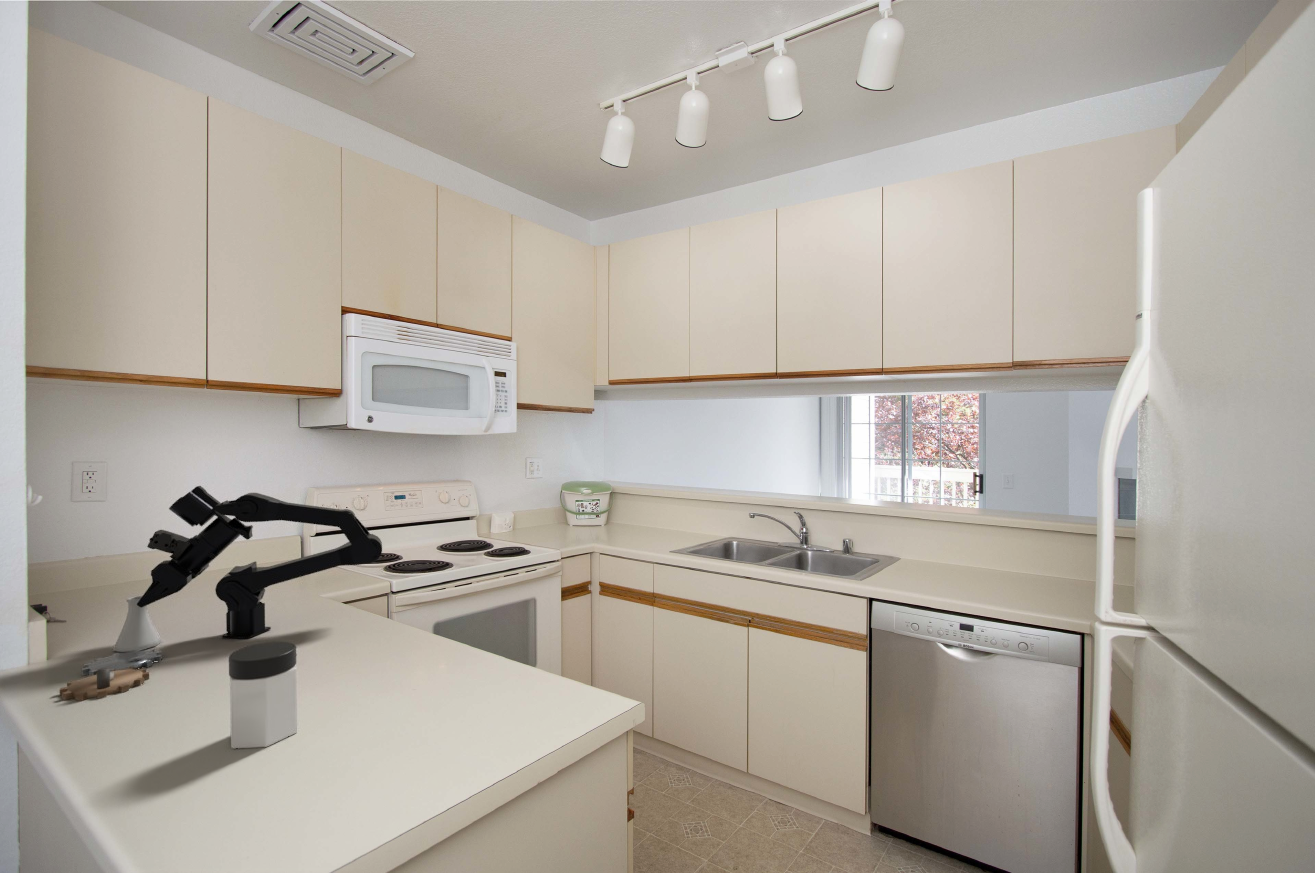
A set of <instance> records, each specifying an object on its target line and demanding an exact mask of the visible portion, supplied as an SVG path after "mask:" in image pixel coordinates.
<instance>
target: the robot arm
mask: <svg viewBox="0 0 1315 873" xmlns="http://www.w3.org/2000/svg"><path fill="white" fill-rule="evenodd" d="M168 510H169V511H170V512H172V513H173V514H175V515H177V516H178V517H179V518H180V519H181V520H182V521H184V522H186V523H187V524H188V525H189V526H191V527H195V526H196V527H197V526H199V527H200V528H201V527H203V526H204V525H206V524H207V523H208V522H209V521H211V520H212V519H213V518H214V517H216V518H215V519H214V520H212V521H211V522H210V523H209V524H208V525H207V526H206V527H205V528H204V529H203V530H201V531H200V532H199V533H198V534H196V535H194V536H193V537H190V538H189V537H186V536H184V535H181V534H178V533H175V532H171V531H169V530H164V529H158V530H157V531H155V532H154V533H153V535H152V536H151V537H150V538H149V542H148V543H147V546H146V547H147V548H148V549H151V550H157V551H161V552H165V553H168V554H170V556H169V558H170V560H169V559H168V560H163V561H162V562H160V563H159V564H157V565H156V566H155V567H154V568H153V569H152V570H151V571H150V576H151V579H152V580H151V581H152V582H151V584H150V585H149V586H148V588H147V589H146V590H145V592H144V593H143V595H141V596H142V597H141V599H140V600H139V602H138V603H137V605H138V606H139V607H141V608H142V607H144V606H146V605H147V606H149V605H151V604H153V603H156V602H157V601H160V600H162V599H164V598H167V597H169V596H171V595H173V594H176V593H179V592H180V591H181V590H183V589H184V588H185V587H186V586H188V584H189V583H191V582H192V580H194V579H196V578H197V577H198V576H200V575H201V574H202V573H203V572H205V571H206V570H207V569H208V568H209V567H210V563H212V562H213V560H215V559H216V558H217V557H218V556H220V555H221V554H222V553H223V552H224V551H225V550H226V549H227V548H228V547H229V546H230V545H232V543H233V542H235V541H236V540H237V539H238V538H239V537H240V536H241V537H242V538H244V539H245V540H250V539H251V538H252V537H253V528H254V525H252V524H251V525H245V524H244V523H260V522H261V523H262V522H272V521H273V522H274V521H284V522H285V521H286V522H295V523H299V524H300V523H302V524H310V525H318V526H328V527H336V528H339V529H340V530H341V532H342V533H343V534H344V536H345V538H346V539H347V540H348V542H346V543H344V544H342V545H340V546H338V547H335V548H332V549H329V550H325V551H321V552H318V553H313V554H309V555H307V556H302V557H300V558H299V557H298V558H295V559H292V560H287V561H284V562H281V563H276V564H274V565H269V566H258V565H257V561H253V562H250V563H248V564H245V565H241V566H239V565H235V566H234V567H233V568H232V569H231V570H230V571H229V572H227V573H226V574H225V575H224V576H223V577H222V578H221V579H220V580H219V581H218V582H217V584H216V585H215V590H214V591H215V595H216V597H217V598H218V599H219V600H220V601H222V602H224V603H225V605H226V607H227V610H226V611H227V612H226V614H225V618H226V628H225V629H226V632H225V633H223V634H221V638H223V639H225V638H227V639H229V638H231V639H251V638H252V637H255V636H258V635H260V634H263V633H265V632H267V631H270V630H272V626H266V603H265V602H263V601H261V600H262V599H263V598H264V596H265V593H266V588H268V587H270V586H273V585H277V584H279V583H284V582H288V581H292V580H294V579H298V578H302V577H304V576H309V575H311V574H315V573H320V572H323V571H326V570H330V569H333V568H337V567H341V566H358V565H366V564H367V565H368V564H372V563H374V562H377V561H378V560H379V558H380V557H381V555H382V553H383V542H382V540H381V538H380V537H378V536H377V535H376V534H373V533H370V531H369V530H368V529H367V528H366V527H365V525H364V524H363V523H362V522H361V521H360V520H359V519H358V518H357V516H356V515H355V513H354V511H353V510H351V509H349V508H343V509H340V508H333V507H324V506H317V505H316V506H315V505H309V504H300V503H293V502H287V501H284V500H280V499H277V498H275V497H272V496H269V495H265V494H261V493H258V492H248V493H245V494H243V495H241V496H240V497H238V498H236V499H235V500H234V499H232V500H225V501H222V502H221V501H219V500H217V499H216V498H215V497H214V496H213V495H211V494H210V493H209V492H208V491H207V490H206V489H205V488H204V487H202V486H201V485H196V486H194V488H193V489H191V490H190V491H188V492H187V493H186V494H185V495H183V496H181V497H179V498H178V499H177V500H175V502H173V503H172V504H171V505H170V506H169V508H168ZM228 516H229V517H228ZM230 517H233V518H232V519H231V518H230Z"/></svg>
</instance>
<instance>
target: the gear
mask: <svg viewBox="0 0 1315 873" xmlns="http://www.w3.org/2000/svg"><path fill="white" fill-rule="evenodd" d="M161 659H163V651H161V650H158V651H156V650H155V649H153V648H148V649H147V650H146V649H145V650H140V651H139V650H133V651H130V652H116V653H112V655H108V656H106V657H98V658H97V657H96V658H95V659H93V661H92V662H87V663H85V664H83V665H82V666H83V667H82V668H81V675H82V676H87V675H88V677H89V676H93V675H97V670H98V669H101V668H106V667H109V668H110V671H111V670H114V671H117V670H124V669H126V668H133V669H134V670H136V669H137V670H139V669H138V668H141V669H142V667H148V668H150V667H149V666H151V665H152V666H153V663H152V662H154V661H160V660H161ZM161 661H162V660H161ZM161 661H160V662H161ZM152 666H151V667H152Z"/></svg>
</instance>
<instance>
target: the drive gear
mask: <svg viewBox="0 0 1315 873" xmlns="http://www.w3.org/2000/svg"><path fill="white" fill-rule="evenodd" d="M144 679H147V680H150V671H147V668H141V669H137V670H134V669H133V668H126V669H124V670H117V671H114V670H111V671H110V668H109V667H106V668H101V669H98V670H97V675H93V676H89V675H88V676H87V677H84V678H81V679H79V680H71V681H68V682H67V684H66V686H63V687H60V688H59V696H60V697H61V699H62V700H64V701H67V700H69V699H75V702H79V701H80V702H81V701H83V702H84V701H85V700H86V699H91V698H92V699H93V698H97V699H102V698H106V697H107V696H110V695H114V694H116V693H121V694H122V693H126V692H129V691H130V689H131V688H134V687H136V686H135V685H141V684H142V683H144V684H145V680H144ZM142 685H143V684H142ZM142 685H141V686H142ZM133 686H134V687H133Z"/></svg>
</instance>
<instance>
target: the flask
mask: <svg viewBox="0 0 1315 873" xmlns="http://www.w3.org/2000/svg"><path fill="white" fill-rule="evenodd" d="M142 596H143V595H138V596H137V595H136V596H131V597H128V598H126V600H125V601H126V603H128V606H127V607H128V608H127V609H128V610H127V613H126V619H125V621H124V624H123V626H122V628H121V631H120V634H119V635H118V637H117V640H116V641H115V642H116V643H115V644H114V646H113V648H112V651H114V652H117V653H126V652H131V651H133V650H139V651H144V650H146V649H147V650H148V649H151V648H153V647H156V646H158V645H159V644H160V643H162V642H163V640H162V638H161V637H162V636H160V634H159V632H158V630H157V628H156V626H155V625H154V623H153V621H152V618H151V616H150V615H149V611H148V605H146V606H144V607H142V608H141V607H139V606H138V605H137V603H138V602H139V600H140V599H141V597H142Z"/></svg>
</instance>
